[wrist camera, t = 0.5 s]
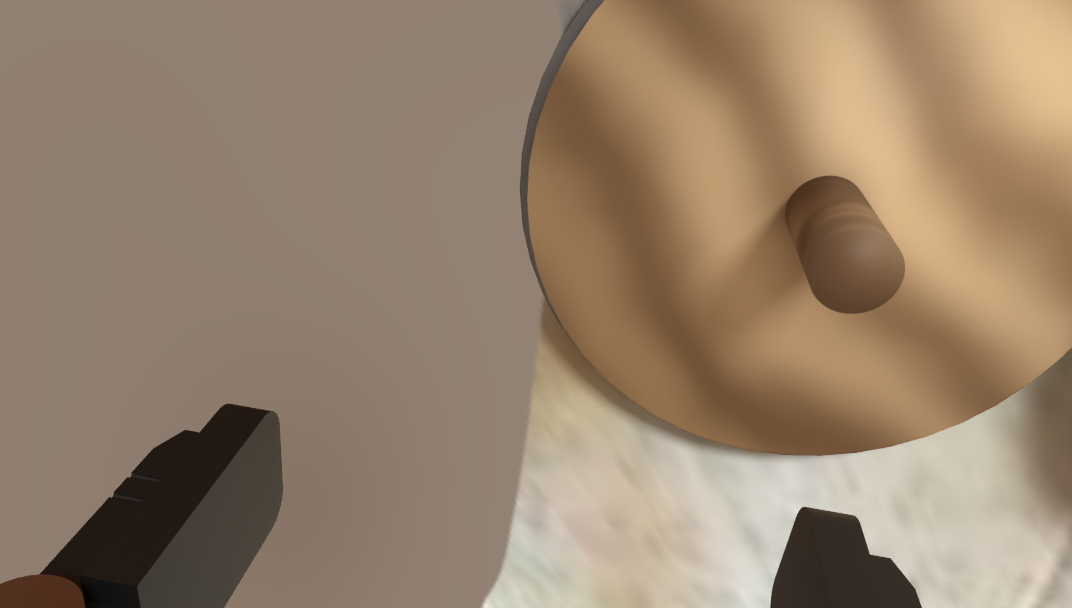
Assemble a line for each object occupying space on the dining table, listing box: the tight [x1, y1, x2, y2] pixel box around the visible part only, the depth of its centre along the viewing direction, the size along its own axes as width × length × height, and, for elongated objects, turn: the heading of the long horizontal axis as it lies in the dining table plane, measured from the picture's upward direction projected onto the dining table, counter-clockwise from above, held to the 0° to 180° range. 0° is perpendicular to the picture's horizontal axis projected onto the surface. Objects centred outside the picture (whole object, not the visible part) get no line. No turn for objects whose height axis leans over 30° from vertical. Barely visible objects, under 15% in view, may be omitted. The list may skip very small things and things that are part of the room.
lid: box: [527, 0, 1072, 456], centre depth 31 cm, size 25×25×7 cm
